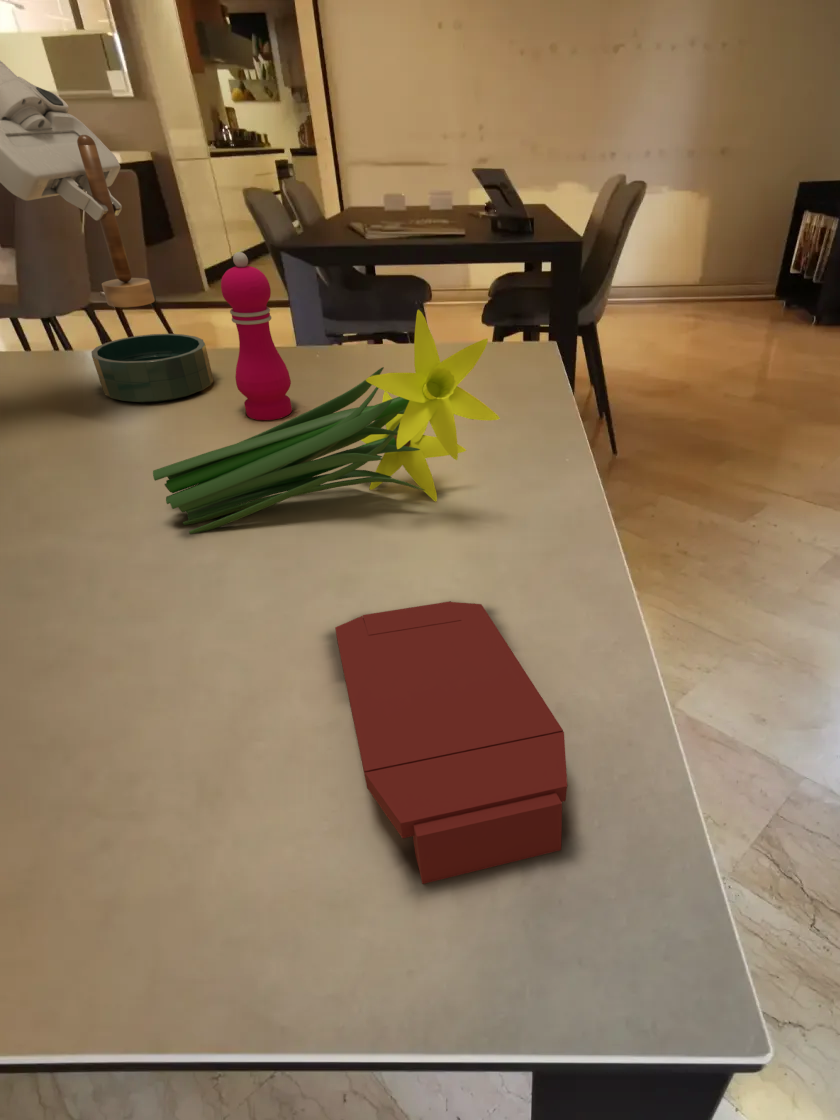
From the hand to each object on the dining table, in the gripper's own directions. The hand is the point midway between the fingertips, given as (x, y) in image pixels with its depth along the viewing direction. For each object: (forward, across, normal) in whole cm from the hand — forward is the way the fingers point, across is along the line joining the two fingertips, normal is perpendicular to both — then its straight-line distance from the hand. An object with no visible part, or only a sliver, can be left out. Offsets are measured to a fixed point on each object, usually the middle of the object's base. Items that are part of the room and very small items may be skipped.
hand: (110, 214), depth 89 cm
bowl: (+15, +4, +18) cm, 24 cm away
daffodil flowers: (+42, -33, -8) cm, 54 cm away
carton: (+54, -63, -20) cm, 85 cm away
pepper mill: (+29, -4, +4) cm, 30 cm away
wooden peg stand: (+7, 0, +8) cm, 10 cm away
